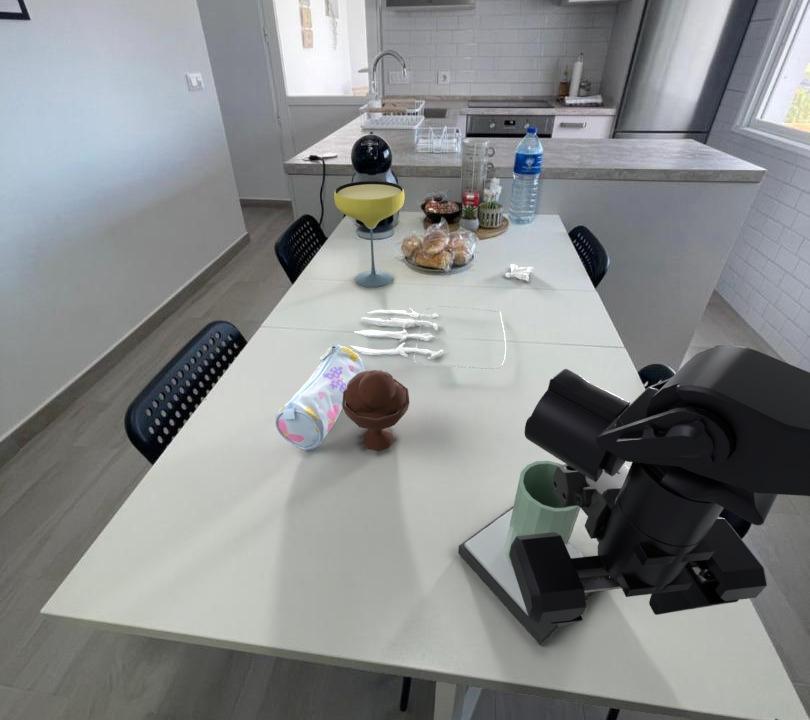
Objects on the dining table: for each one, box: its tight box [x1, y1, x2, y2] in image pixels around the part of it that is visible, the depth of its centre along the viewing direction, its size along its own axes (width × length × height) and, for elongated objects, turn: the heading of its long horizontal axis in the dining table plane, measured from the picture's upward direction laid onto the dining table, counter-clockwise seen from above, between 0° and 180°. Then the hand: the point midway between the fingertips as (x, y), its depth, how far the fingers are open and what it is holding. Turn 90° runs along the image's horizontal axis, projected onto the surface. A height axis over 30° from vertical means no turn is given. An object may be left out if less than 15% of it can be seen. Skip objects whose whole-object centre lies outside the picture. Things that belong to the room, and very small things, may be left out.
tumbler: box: [505, 460, 581, 567], centre depth 53 cm, size 7×7×14 cm
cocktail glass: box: [333, 180, 405, 288], centre depth 122 cm, size 18×18×25 cm
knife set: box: [350, 305, 507, 370], centre depth 104 cm, size 26×35×1 cm
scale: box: [457, 505, 595, 646], centre depth 57 cm, size 14×12×2 cm
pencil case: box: [274, 344, 365, 451], centre depth 80 cm, size 21×9×10 cm, turn 164°
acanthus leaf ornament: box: [505, 263, 534, 282], centre depth 130 cm, size 8×7×2 cm
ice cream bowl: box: [342, 369, 410, 452], centre depth 73 cm, size 11×11×15 cm
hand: (605, 614), depth 41 cm, fingers open, 9 cm apart
